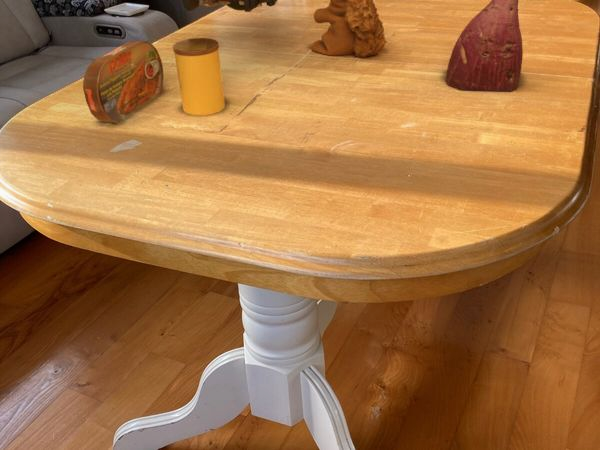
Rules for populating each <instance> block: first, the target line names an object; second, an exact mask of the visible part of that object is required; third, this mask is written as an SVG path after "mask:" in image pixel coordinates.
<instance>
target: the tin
mask: <svg viewBox="0 0 600 450" xmlns="http://www.w3.org/2000/svg"><path fill="white" fill-rule="evenodd" d="M160 55H161V54H159V51H158V50H157V48H156V47H155V46H154V45H153V44H152V43H151V42H149V41H147V40H140V41H129V42H125V43H123V44H122V45H119V46H118V47H116V48H115V49H112V50H110V51H109V52H108V53H107V52H106V54H103V55H102V56H100V57H98V58H96V59H94V60H93V61H91V62H90V64H89V65H88V67H87V68H86V70H85V73H84V76H83V80H82V82H83V84H82V90H83V93H84V98H85V101H86V104H87V107H88V109H89V111H90V114H91V115H92V116H93V118H96V120H98V121H100V122H103V123H114V124H120V122H121V121H122V120H123V118H124V117H127V116H128V115H129V114H130V113H133V112H134V111H135V110H137V109H138V108H139V107H141V106H142V105H144V104H145V103H147V102H148V101H150V100H151V99H152V98H154V97H156V96H159V95H160V94H161V93H162V89H163V85H164V66H163V62H162V58H161V56H160Z"/></svg>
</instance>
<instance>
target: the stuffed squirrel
mask: <svg viewBox="0 0 600 450" xmlns="http://www.w3.org/2000/svg"><path fill="white" fill-rule="evenodd" d="M379 16H380V15H379V13H378V8H377V7H376V4H375V2H374V0H330V1H329V3H328V6H327V7H322V8H321V7H319V8H317V9H316V10H314V12H313V19H314V22H315V23H317V24H324V23H329V24H330V25H329V26H328V28H327V30H326V31H325V32H324V33H323V34H322V35H321V39H319V40H315V41H314V42H312V43H311V44H310V49H311V51H313V52H315V53H318V54H322V55H324V56H325V55H326V56H334V57H335V56H347V55H353V56H354V57H357V58H367V57H369V56H375V55H377V54H379V53H380V52H382V51H383V49H384V48H385V45H386V44H388V41H387V40H386V37H385V34H384V33H385V29H384V26H383V21H381V20H380V17H379Z"/></svg>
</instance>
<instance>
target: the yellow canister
mask: <svg viewBox="0 0 600 450" xmlns="http://www.w3.org/2000/svg"><path fill="white" fill-rule="evenodd" d="M219 50H220V43H219V41H218V40H216V39H215V38H209V37H193V38H187V39H183V40H179V41H177V42H175V43H174V44H173V45H172V51H173V53H174V59H175V65H176V72H177V78H178V84H179V93H180V97H181V104H182V110H183V112H184V113H186V114H189V115H193V116H208V115H212V114H217V113H218V112H221V111H222V110H224V108H225V107H226V103H225V93H224V86H223V85H224V84H223V77H222V68H221V58H220V51H219Z"/></svg>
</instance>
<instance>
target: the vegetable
mask: <svg viewBox="0 0 600 450" xmlns="http://www.w3.org/2000/svg"><path fill="white" fill-rule="evenodd" d="M522 38H523V37H522V32H521V28H520V19H519V0H491V1H489V3H488V4H487V5H486V6H485V7H484V8H483V9H481V11H480V12H478V13H477V14H475V16H474V17H473V18H471V20H469V22H468V23H467V25H466V26H465V27H464V28H463V30H462V31H461V33H460V34H459V36H458V38H457V40H456V42H455V44H454V46H453V48H452V51H451V54H450V57H449V61H448V65H447V69H446V70H447V71H446V77H445V84H447V86H449V87H451V88H453V89H456V90H459V91H462V92H486V93H487V92H490V93H493V92H494V93H512V92H515V91H516V90H517V89H518V87H519V83H520V79H521V73H522V65H523V58H524V57H523V56H524V55H523V54H524V49H523V39H522Z"/></svg>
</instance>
